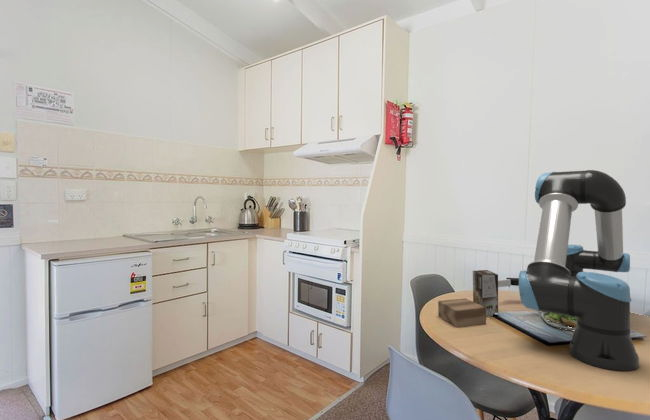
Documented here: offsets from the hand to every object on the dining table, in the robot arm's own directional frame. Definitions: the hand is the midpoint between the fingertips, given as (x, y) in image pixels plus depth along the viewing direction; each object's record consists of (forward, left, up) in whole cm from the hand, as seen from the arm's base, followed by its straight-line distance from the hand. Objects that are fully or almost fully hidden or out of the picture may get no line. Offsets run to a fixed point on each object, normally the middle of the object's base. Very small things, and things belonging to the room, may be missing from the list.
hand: (508, 287), depth 139 cm
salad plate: (-18, -10, -10) cm, 23 cm away
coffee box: (0, +10, -9) cm, 14 cm away
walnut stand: (-5, +24, -9) cm, 27 cm away
